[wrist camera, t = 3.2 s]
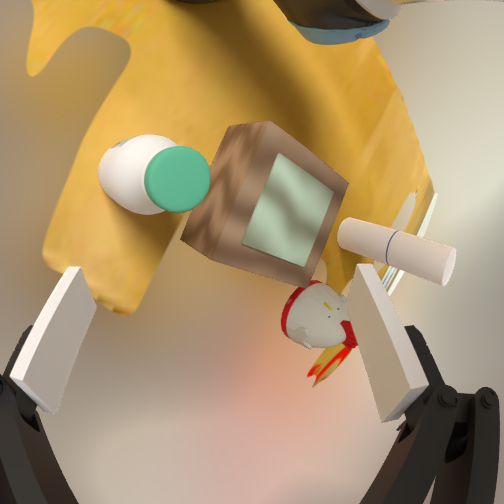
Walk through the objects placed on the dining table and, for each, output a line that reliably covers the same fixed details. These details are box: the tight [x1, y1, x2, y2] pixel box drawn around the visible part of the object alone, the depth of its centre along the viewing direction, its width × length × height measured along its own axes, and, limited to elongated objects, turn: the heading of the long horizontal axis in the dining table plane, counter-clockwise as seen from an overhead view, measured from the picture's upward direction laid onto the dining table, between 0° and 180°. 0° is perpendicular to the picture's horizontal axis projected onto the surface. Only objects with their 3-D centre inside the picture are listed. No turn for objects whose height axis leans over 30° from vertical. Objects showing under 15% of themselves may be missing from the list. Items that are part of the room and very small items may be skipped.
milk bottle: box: [98, 135, 211, 215], centre depth 27 cm, size 8×8×20 cm
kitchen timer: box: [281, 280, 358, 350], centre depth 57 cm, size 14×14×15 cm
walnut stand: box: [180, 121, 349, 289], centre depth 43 cm, size 18×18×10 cm
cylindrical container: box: [337, 217, 456, 286], centre depth 54 cm, size 7×7×25 cm
